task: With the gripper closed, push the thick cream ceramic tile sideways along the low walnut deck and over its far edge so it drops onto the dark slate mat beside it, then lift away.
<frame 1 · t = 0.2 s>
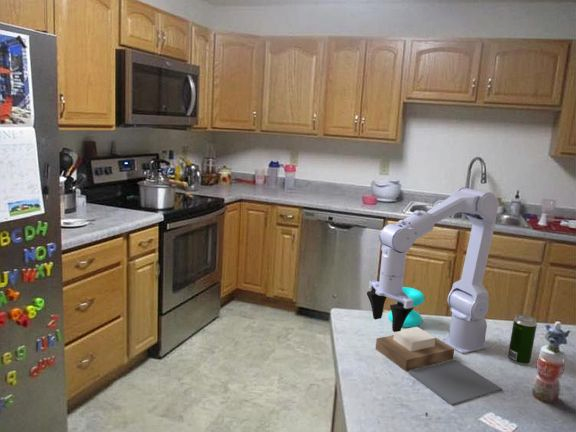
hand: (386, 324, 116), 10 cm above the countertop, tool pointing down, fingers open, 7 cm apart
mat: (453, 381, 109), on the countertop
beer can: (518, 361, 121), on the countertop
tile: (413, 342, 121), point 3 cm above the countertop, touching deck
donuts: (404, 322, 142), on the countertop
deck: (413, 354, 122), on the countertop
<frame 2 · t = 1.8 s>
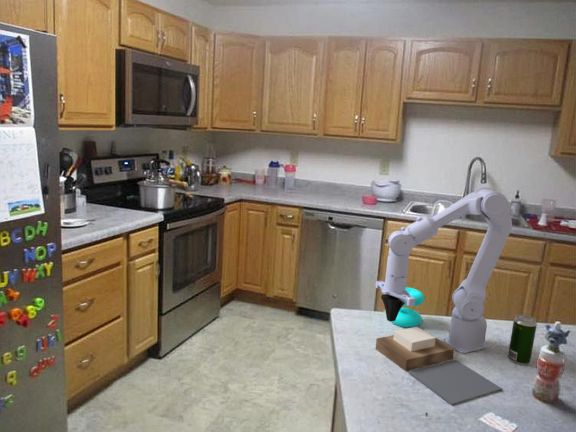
hand: (391, 320, 129), 5 cm above the countertop, tool pointing down, fingers closed
nothing on the countertop moved.
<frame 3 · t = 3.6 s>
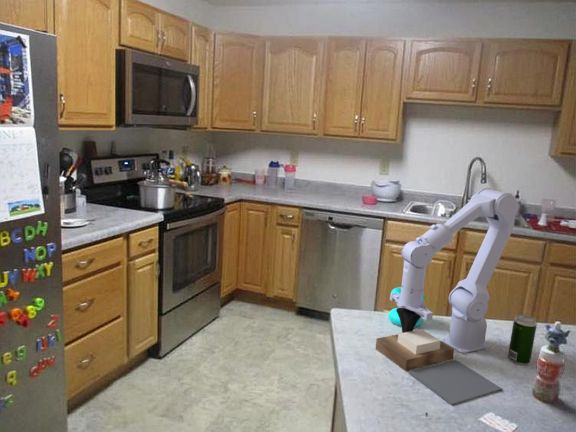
hand: (406, 334, 124), 4 cm above the countertop, tool pointing down, fingers closed
tile: (418, 345, 120), point 3 cm above the countertop, touching deck, gripper
everything else where it was.
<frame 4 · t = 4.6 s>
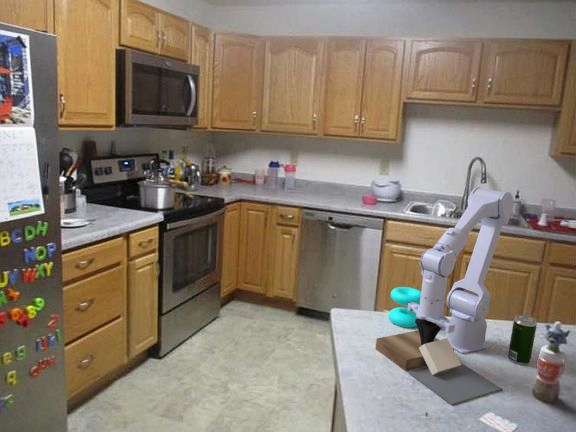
hand: (426, 347, 117), 4 cm above the countertop, tool pointing down, fingers closed
tile: (437, 358, 114), point 3 cm above the countertop, tilted 42°
everything else where it was.
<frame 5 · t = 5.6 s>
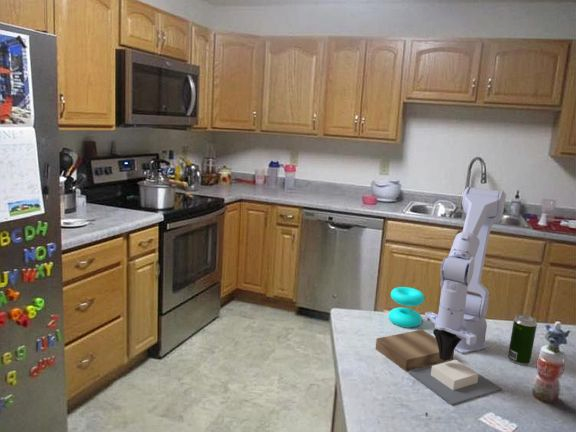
hand: (444, 358, 112), 4 cm above the countertop, tool pointing down, fingers closed
tile: (453, 378, 110), resting on mat
everything else where it was.
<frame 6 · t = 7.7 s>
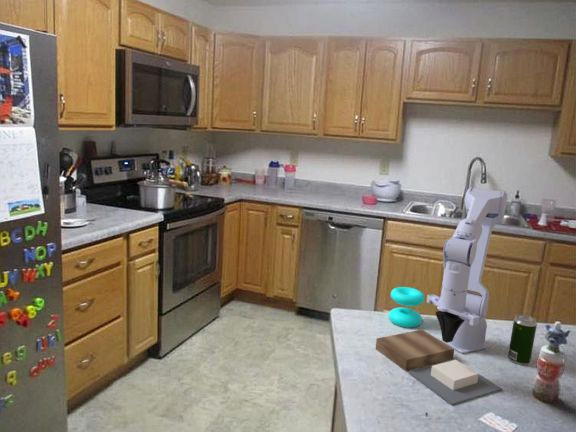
hand: (447, 340, 111), 8 cm above the countertop, tool pointing down, fingers closed
nothing on the countertop moved.
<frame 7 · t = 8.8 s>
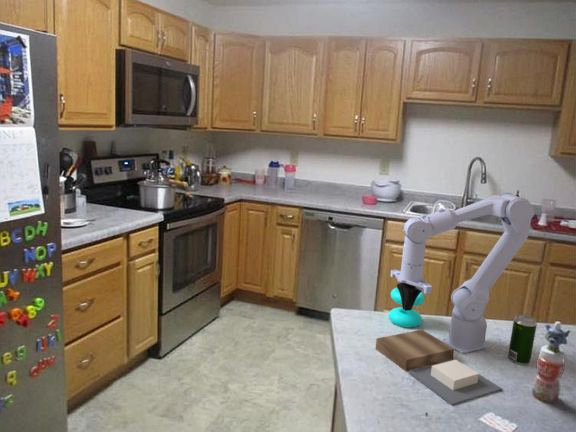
hand: (407, 309, 127), 9 cm above the countertop, tool pointing down, fingers closed
nothing on the countertop moved.
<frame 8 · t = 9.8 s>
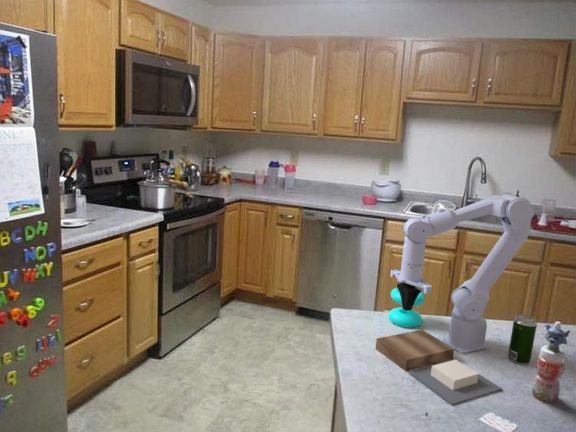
hand: (407, 309, 127), 9 cm above the countertop, tool pointing down, fingers closed
nothing on the countertop moved.
at the end: tile inside the target area on the mat (0.4 cm from its centre), point 0.4 cm above the mat's base; tile resting on mat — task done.
